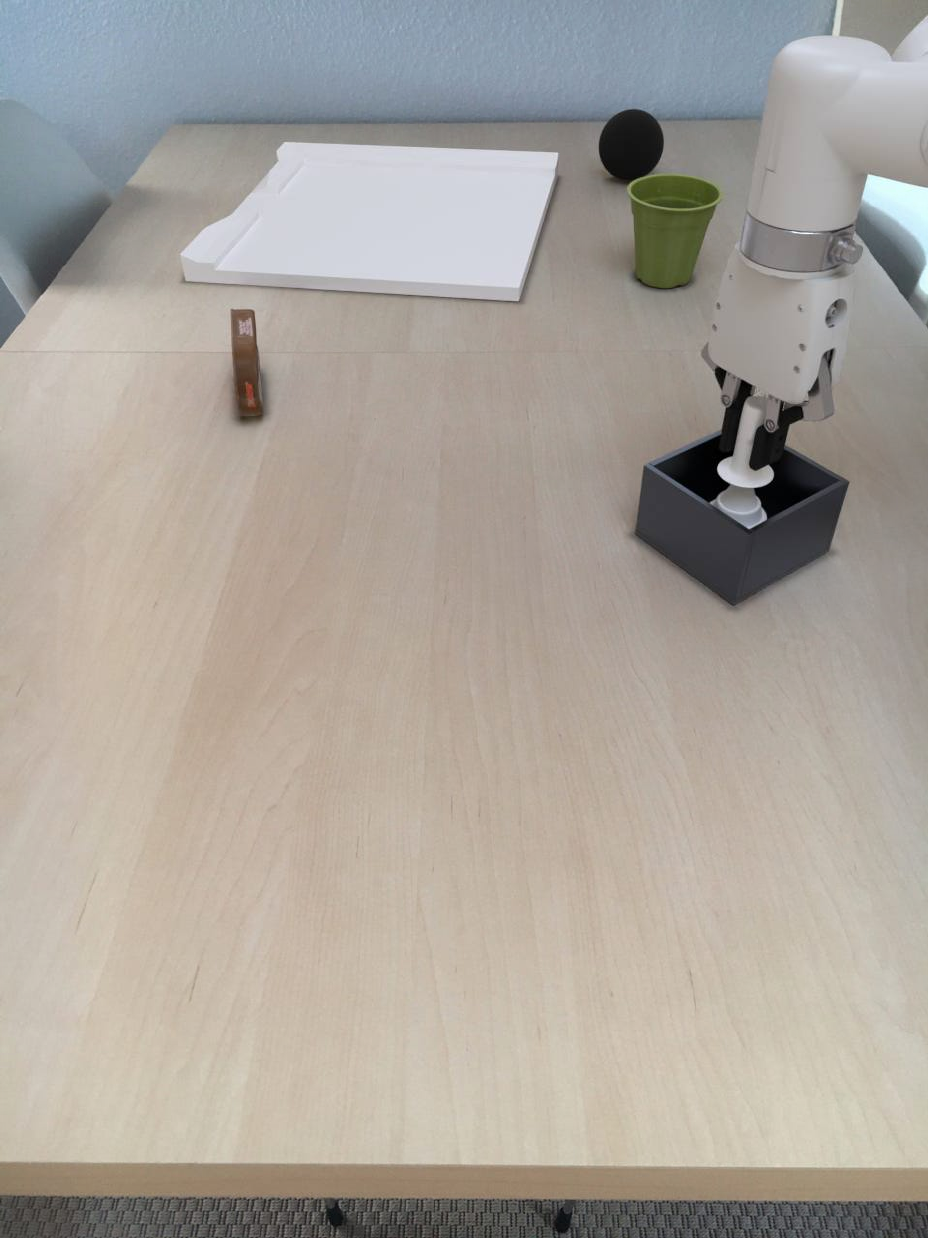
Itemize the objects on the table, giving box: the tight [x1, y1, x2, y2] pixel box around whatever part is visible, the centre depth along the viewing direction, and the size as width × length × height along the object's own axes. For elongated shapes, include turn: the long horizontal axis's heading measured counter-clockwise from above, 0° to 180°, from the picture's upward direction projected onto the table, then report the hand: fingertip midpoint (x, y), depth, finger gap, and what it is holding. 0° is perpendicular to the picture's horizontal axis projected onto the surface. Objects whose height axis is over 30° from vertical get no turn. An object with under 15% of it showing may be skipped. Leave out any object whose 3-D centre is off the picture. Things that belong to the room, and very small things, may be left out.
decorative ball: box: [598, 108, 665, 181], centre depth 154 cm, size 10×10×10 cm
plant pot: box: [626, 173, 724, 289], centre depth 126 cm, size 12×12×11 cm
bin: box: [634, 428, 850, 606], centre depth 87 cm, size 12×12×8 cm
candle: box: [710, 394, 774, 529], centre depth 83 cm, size 5×5×12 cm
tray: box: [179, 141, 559, 302], centre depth 144 cm, size 45×45×4 cm
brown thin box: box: [230, 308, 264, 418], centre depth 107 cm, size 15×3×8 cm, turn 10°
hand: (749, 453), depth 83 cm, fingers closed on candle, 2 cm apart
